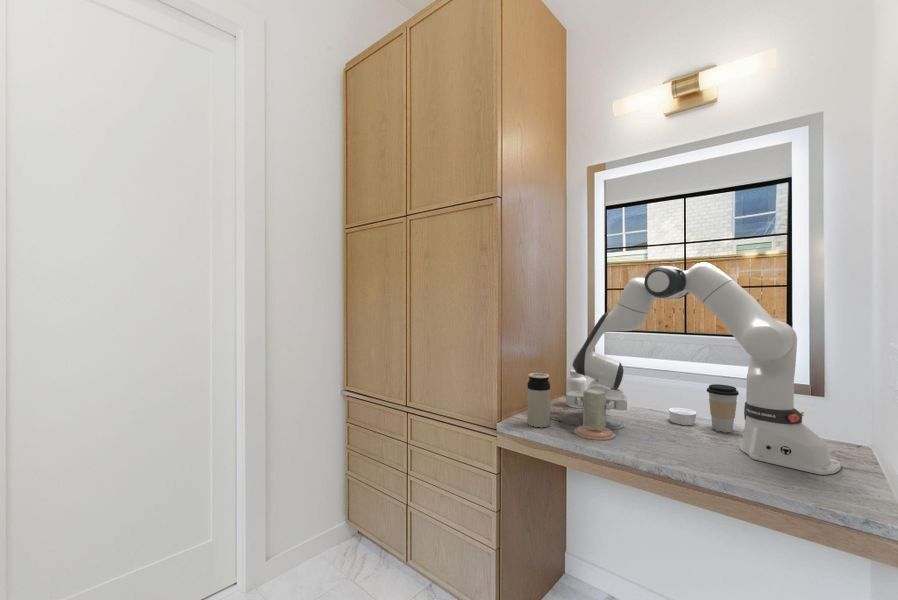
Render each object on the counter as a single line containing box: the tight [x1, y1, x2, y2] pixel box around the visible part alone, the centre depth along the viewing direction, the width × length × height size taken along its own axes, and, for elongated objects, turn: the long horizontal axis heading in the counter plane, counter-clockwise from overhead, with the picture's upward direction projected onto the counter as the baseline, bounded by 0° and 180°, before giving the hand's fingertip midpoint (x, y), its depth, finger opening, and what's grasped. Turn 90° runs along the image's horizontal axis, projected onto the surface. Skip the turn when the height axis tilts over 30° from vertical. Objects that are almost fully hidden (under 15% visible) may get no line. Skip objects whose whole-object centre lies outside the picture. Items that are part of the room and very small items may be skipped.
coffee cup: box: [705, 383, 740, 433], centre depth 144 cm, size 9×9×15 cm
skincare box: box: [582, 389, 607, 430], centre depth 140 cm, size 6×4×12 cm
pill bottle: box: [566, 369, 588, 409], centre depth 175 cm, size 8×8×15 cm
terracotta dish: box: [573, 424, 616, 441], centre depth 140 cm, size 13×13×1 cm
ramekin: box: [668, 407, 697, 426], centre depth 153 cm, size 9×9×4 cm
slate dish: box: [606, 416, 625, 431], centre depth 151 cm, size 13×13×1 cm
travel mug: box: [526, 372, 551, 429], centre depth 149 cm, size 8×8×18 cm
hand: (594, 405), depth 139 cm, fingers closed on skincare box, 7 cm apart
